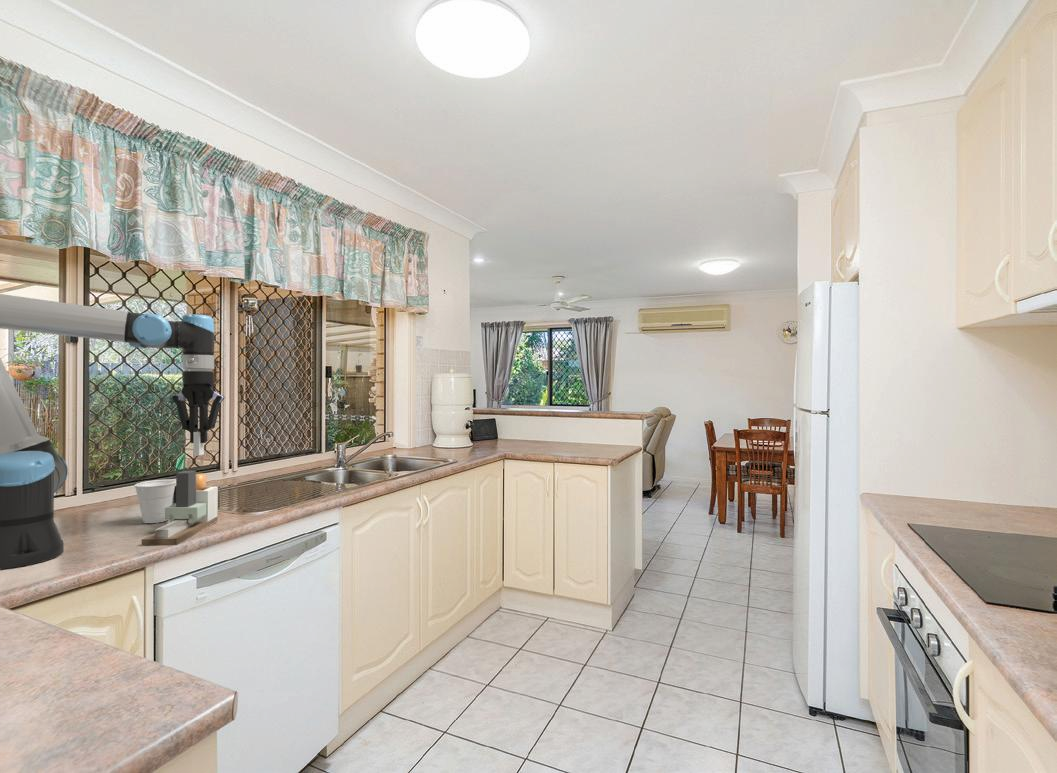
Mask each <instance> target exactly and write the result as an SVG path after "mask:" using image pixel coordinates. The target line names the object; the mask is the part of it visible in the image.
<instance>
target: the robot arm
mask: <svg viewBox="0 0 1057 773" xmlns="http://www.w3.org/2000/svg"><path fill="white" fill-rule="evenodd" d="M0 329H1V330H2V329H4V330H13V331H21V332H29V333H30V332H31V333H38V334H50V335H58V336H66V337H67V336H68V337H75V338H85V339H95V340H102V341H103V340H104V341H110V342H111V341H113V342H119V343H120V342H121V343H128V345H129V346H130V347H132V348H141V349H147V348H148V349H182V369H183V370H184V371H183V372H182V389H181V391H180V393H178V394H176V395H172V397H171V398H172V400H173V402H174V403H175V405H176V409H177V412H178V417H179V421H180V424H181V428H182V429H183V430H184V431H185V430H186V431H188V432H189V435H190V436H189V440H190V441H189V442H190V443H191V444H193V456H195V457H197V456H198V457H200V456H203V455H205V443H208V431H210V430H213V429H215V428H216V423H217V421H218V420H217V419H218V416H219V411H220V409H221V404H222V403H223V401H224V400H225V399H226V398H225V395H223V394H222V395H221V394H220V393H218V392H217V390H216V388H215V386H214V385H215V372H214V371H213V370H215V321H214V319H213V317H211V316H210V315H205V314H198V313H195V314H192V313H191V314H189V313H188V314H186V313H185V314H184V315H183V316H182V319H181V320H179V321H178V320H177V321H175V320H168V319H166V318H165V317H163V316H161V315H159V314H155V313H140V312H133V311H132V312H129V311H124V310H119V309H118V310H117V309H113V308H103V307H97V306H89V305H82V304H74V303H67V302H61V301H56V300H55V301H54V300H53V301H52V300H47V299H40V298H34V297H33V298H32V297H24V296H18V295H11V294H4V293H3V294H2V293H0ZM6 368H7V367H5V365H4V363H3V361H2V358H1V357H0V570H3V569H14V568H20V567H23V566H30V565H34V564H38V563H43V562H46V561H49V560H52V559H55V558H57V557H59V556H61V555H62V554H64V550H65V549H64V546H65V544H64V540H63V539H62V537H61V533H60V531H59V529H58V527H57V524H56V523H55V518H54V514H55V512H54V511H55V494H56V493H57V492H58V491H59V490H61V488H62V487H63V486H64V484H65V483H66V481H67V479H68V475H69V474H68V472H69V470H68V464H67V463H66V460H65V459H64V458H63V457H62V456H61V455H60V454H59V453H57V450H56V449H55V447H54V445H53V443H52V440H51V439H50V438H49V437H46V436H45V435H44V436H43V435H41V434H39V433H38V431H37V428H36V427H35V425H34V423H33V421H32V419H31V417H30V415H29V413H28V411H27V409H26V407H25V405H24V402H23V401H22V399H21V397H20V395H19V393H18V391H17V389H16V387H15V384H14V383H13V381H12V379H11V377H10V374H9V373H8V371H7V369H6ZM211 399H212V404H211V406H210V401H211ZM185 400H186V401H187V402H188V403H187V404H188V406H187V405H186V402H185ZM209 406H210V410H209ZM187 407H188V409H189V412H188V409H187ZM209 411H210V412H209Z"/></svg>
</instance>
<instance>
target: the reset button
mask: <svg viewBox="0 0 1057 773" xmlns="http://www.w3.org/2000/svg"><path fill="white" fill-rule="evenodd" d="M206 487H207V473H196V491H203V490H205V489H206Z"/></svg>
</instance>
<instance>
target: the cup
mask: <svg viewBox="0 0 1057 773" xmlns="http://www.w3.org/2000/svg"><path fill="white" fill-rule="evenodd" d="M175 486H176V479H155V480H148V481H142V482H138V483H135V484H134V487H135V492H136V495H137V500H138V504H139V509H140V512H141V517H142V522H143V523H144V524H146V523H156V524H160V523H159V522H162V523H164V521H165V522H168V521H169V519H165V508H166V507H168V506H171V505H173V495H174V489H175Z"/></svg>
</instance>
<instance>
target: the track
mask: <svg viewBox="0 0 1057 773" xmlns="http://www.w3.org/2000/svg"><path fill="white" fill-rule="evenodd" d="M217 520H218V516H217V517H215V518H214V519H212V520H210V521H208V522H198V521H196V522H194V523H188V519H177V520H175V521H173V522H170V521H169V523H166V524H165V525H162V526H160V527H158V528H156V529H155V530H154V533H152V534H150V535H147V536H146V537H143V538H142V539H141V546H142V545H145V546H175V545H176V546H177V545H178V544H181V543H182V542H184V541H186V540H188V539H190V538H192V537H194V534H195V535H196V533H197V532H198V533H200V532H201V530H202V529H204V528H205V529H207V528H208V527H207V526H209V525H210V524H212V523H214V522H215V521H217ZM214 524H215V523H214ZM212 525H213V524H212ZM206 527H207V528H206ZM209 527H210V526H209ZM205 529H204V530H205ZM199 531H200V532H199ZM202 531H203V530H202ZM198 533H197V534H198ZM187 538H188V539H187ZM185 539H186V540H185Z"/></svg>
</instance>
